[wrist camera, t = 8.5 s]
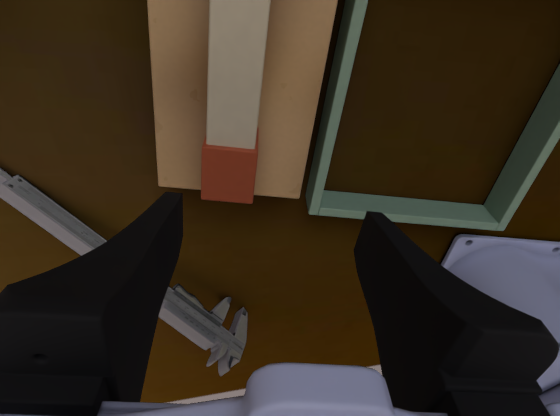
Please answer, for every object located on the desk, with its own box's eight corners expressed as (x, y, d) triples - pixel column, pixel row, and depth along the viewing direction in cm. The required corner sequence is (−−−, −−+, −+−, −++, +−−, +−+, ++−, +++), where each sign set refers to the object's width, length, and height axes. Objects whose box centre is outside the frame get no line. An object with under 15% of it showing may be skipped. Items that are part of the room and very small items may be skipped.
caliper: (248, 306, 31) (246, 377, 26) (240, 312, 32) (236, 383, 26) (-6, 160, 23) (-85, 222, 17) (-13, 171, 23) (-92, 236, 18)
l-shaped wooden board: (356, -163, 15) (407, -223, 10) (295, 173, 24) (305, 237, 19) (154, -203, 14) (90, -293, 9) (169, 161, 23) (141, 225, 18)
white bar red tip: (284, -113, 14) (289, -126, 11) (253, 174, 21) (252, 204, 18) (215, -126, 13) (205, -142, 11) (207, 170, 20) (200, 199, 18)
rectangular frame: (642, -69, 17) (686, -71, 16) (487, 212, 26) (503, 231, 25) (369, -120, 16) (383, -129, 14) (304, 195, 25) (308, 214, 23)
